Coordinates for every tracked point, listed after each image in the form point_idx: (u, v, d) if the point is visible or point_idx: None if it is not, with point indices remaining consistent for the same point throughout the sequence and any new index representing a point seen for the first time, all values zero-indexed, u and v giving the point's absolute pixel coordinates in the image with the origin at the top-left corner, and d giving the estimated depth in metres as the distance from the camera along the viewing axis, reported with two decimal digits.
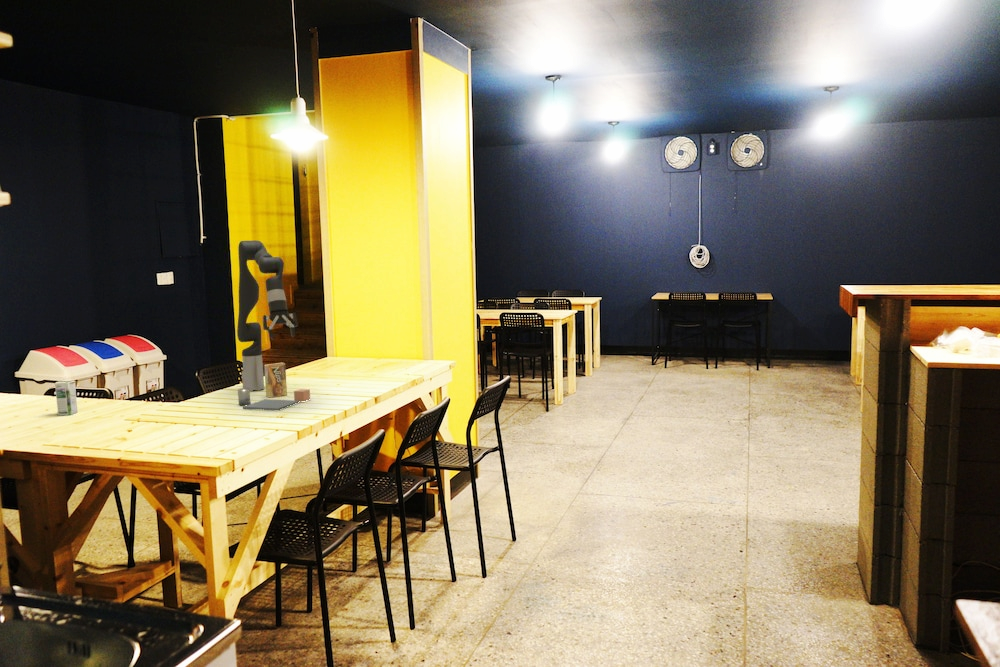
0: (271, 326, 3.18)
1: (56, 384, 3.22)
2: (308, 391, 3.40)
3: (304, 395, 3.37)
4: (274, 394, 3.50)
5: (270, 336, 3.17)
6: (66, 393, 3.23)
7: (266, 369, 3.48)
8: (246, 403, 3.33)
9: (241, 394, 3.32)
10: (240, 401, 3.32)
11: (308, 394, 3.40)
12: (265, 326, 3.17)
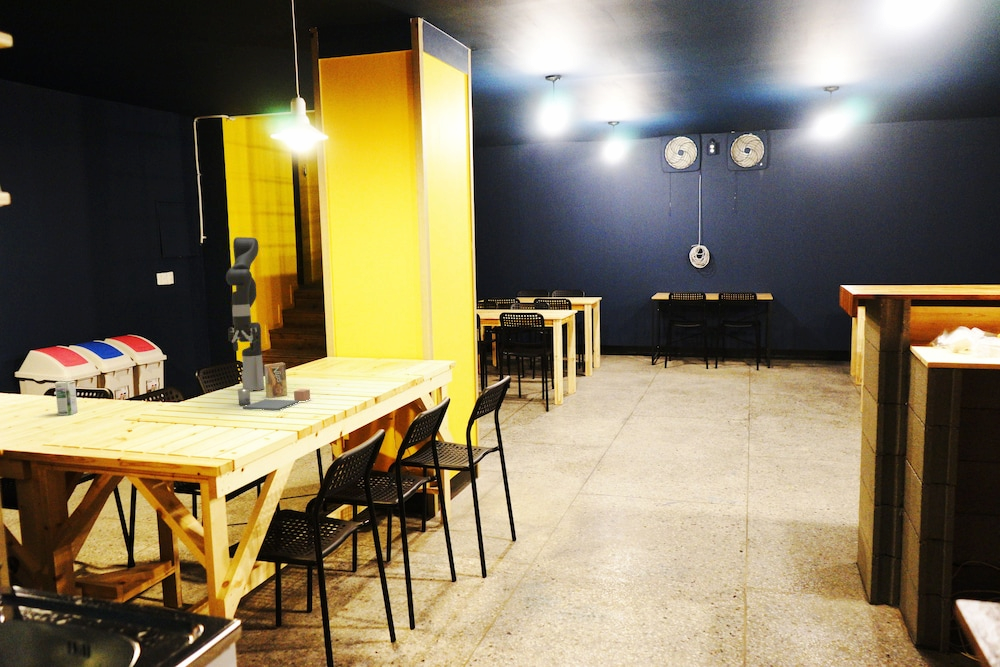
0: (233, 339, 3.32)
1: (56, 384, 3.22)
2: (308, 391, 3.40)
3: (304, 395, 3.37)
4: (274, 394, 3.50)
5: (233, 348, 3.33)
6: (66, 393, 3.23)
7: (266, 369, 3.48)
8: (246, 403, 3.33)
9: (241, 394, 3.32)
10: (240, 401, 3.32)
11: (308, 394, 3.40)
12: (229, 339, 3.33)
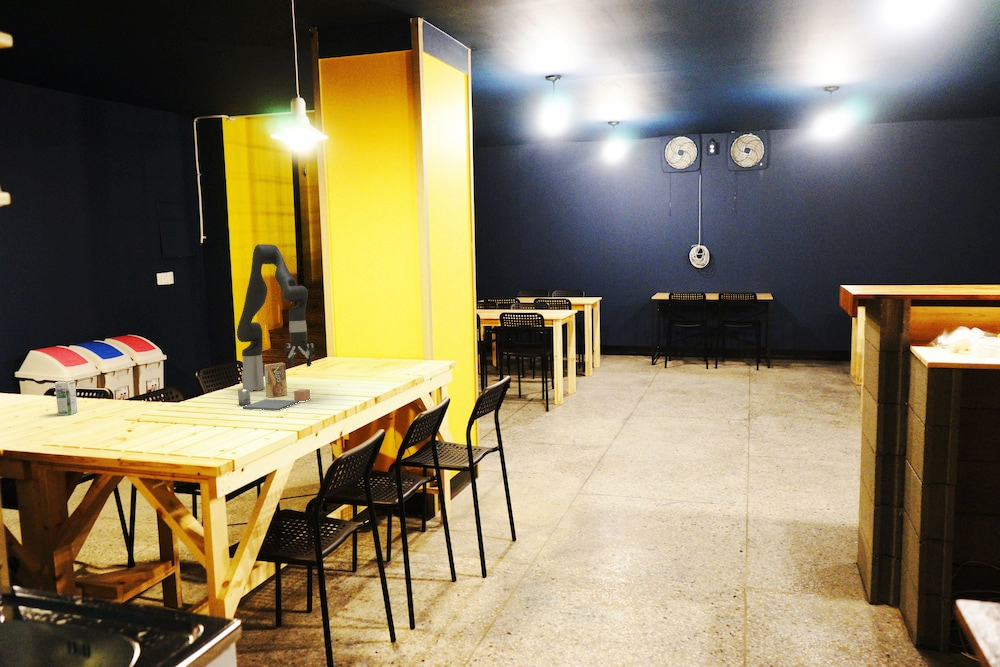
0: (290, 355, 3.37)
1: (56, 384, 3.22)
2: (308, 391, 3.40)
3: (304, 395, 3.37)
4: (274, 394, 3.50)
5: (289, 364, 3.38)
6: (66, 393, 3.23)
7: (266, 369, 3.48)
8: (246, 403, 3.33)
9: (241, 394, 3.32)
10: (240, 401, 3.32)
11: (308, 394, 3.40)
12: (285, 354, 3.38)
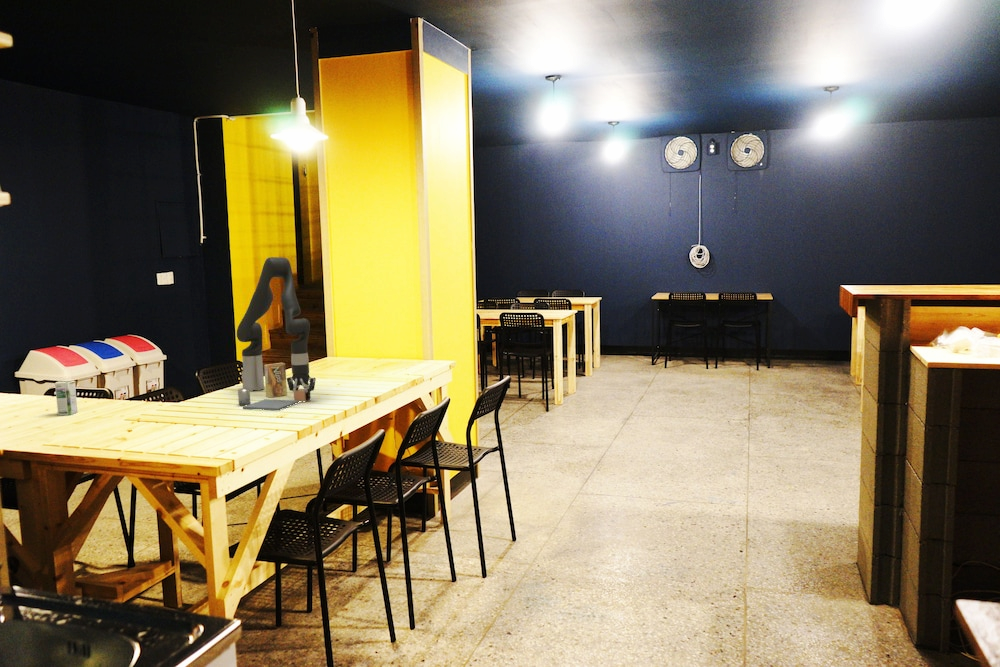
0: (294, 389, 3.39)
1: (56, 384, 3.22)
2: None
3: (304, 395, 3.37)
4: (274, 394, 3.50)
5: None
6: (66, 393, 3.23)
7: (266, 369, 3.48)
8: (246, 403, 3.33)
9: (241, 394, 3.32)
10: (240, 401, 3.32)
11: None
12: (290, 388, 3.39)
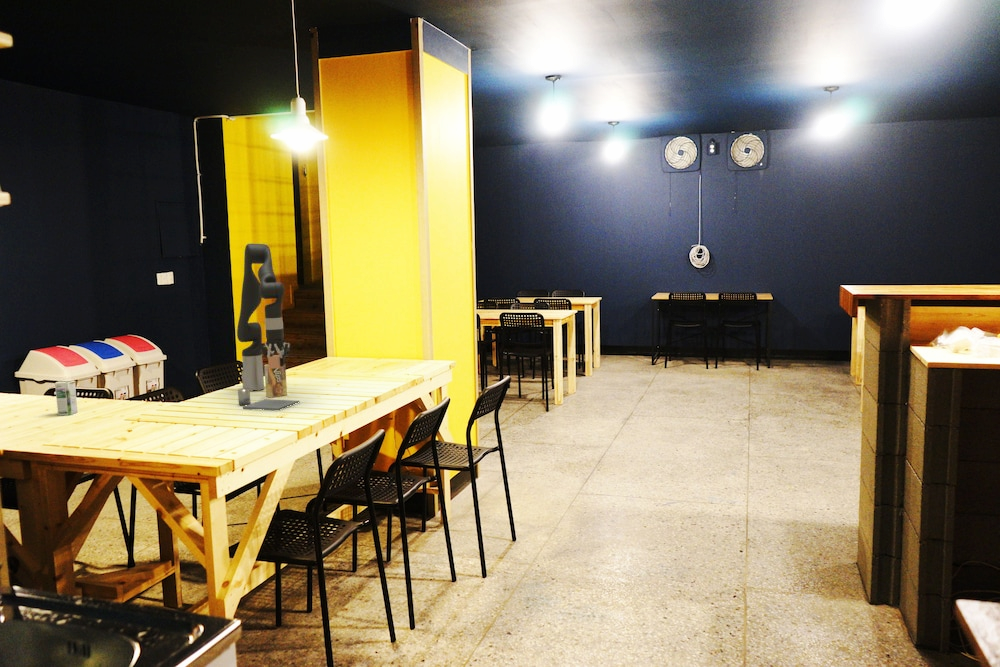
0: (268, 354, 3.30)
1: (56, 384, 3.22)
2: None
3: (278, 361, 3.28)
4: (274, 394, 3.50)
5: (268, 364, 3.31)
6: (66, 393, 3.23)
7: (266, 369, 3.48)
8: (246, 403, 3.33)
9: (241, 394, 3.32)
10: (240, 401, 3.32)
11: None
12: (264, 354, 3.30)
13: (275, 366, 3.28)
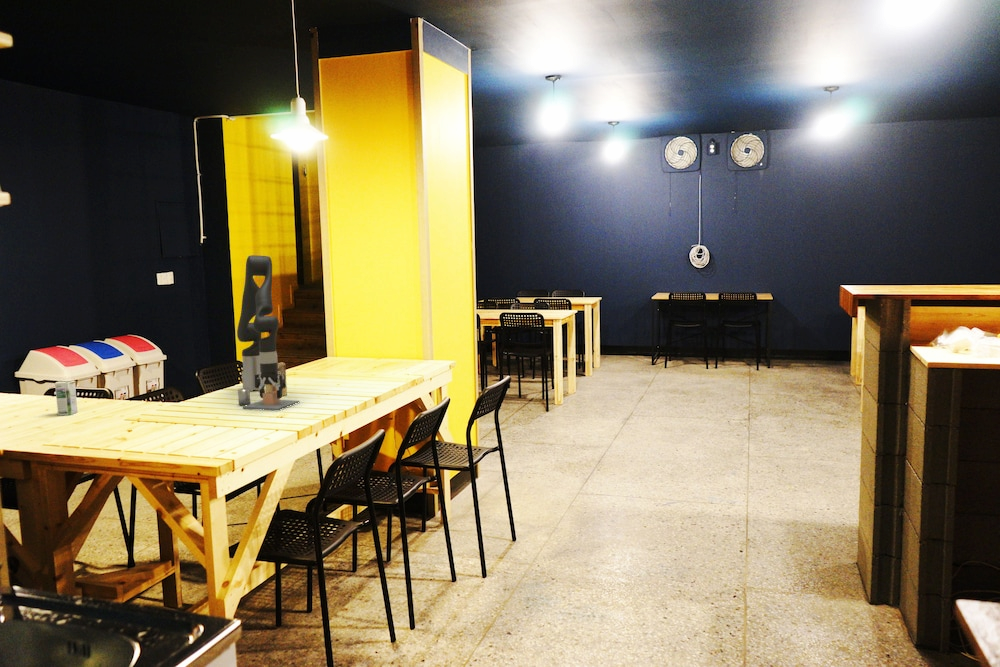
0: (260, 386, 3.30)
1: (56, 384, 3.22)
2: None
3: (273, 397, 3.28)
4: None
5: (260, 395, 3.31)
6: (66, 393, 3.23)
7: None
8: (246, 403, 3.33)
9: (241, 394, 3.32)
10: (240, 401, 3.32)
11: None
12: (255, 385, 3.30)
13: (269, 403, 3.28)
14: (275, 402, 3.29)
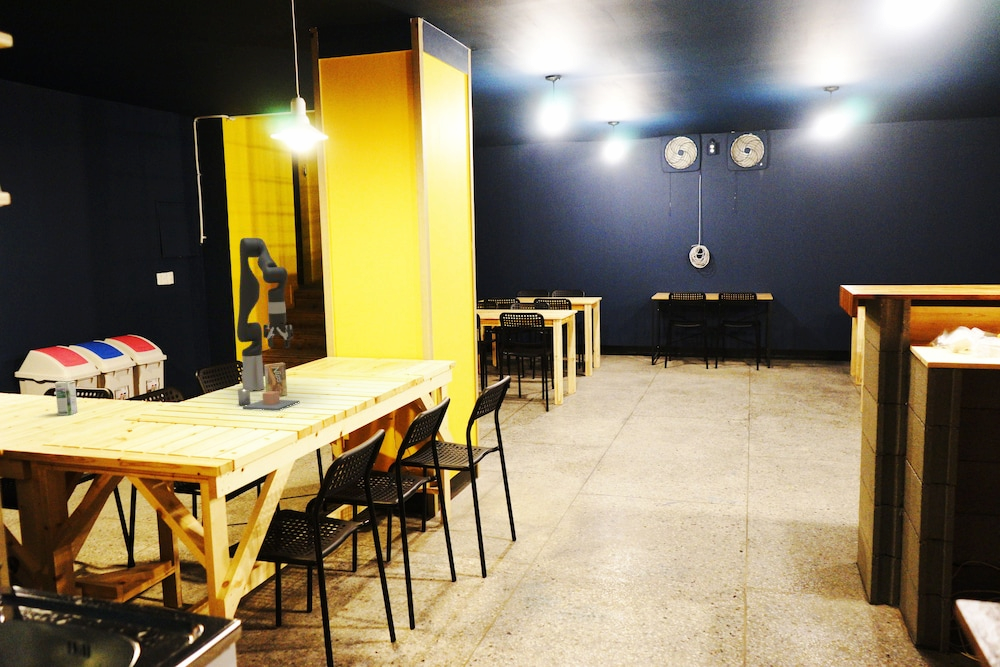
0: (268, 336, 3.37)
1: (56, 384, 3.22)
2: (277, 393, 3.31)
3: (273, 397, 3.28)
4: None
5: (268, 345, 3.39)
6: (66, 393, 3.23)
7: (266, 369, 3.48)
8: (246, 403, 3.33)
9: (241, 394, 3.32)
10: (240, 401, 3.32)
11: (277, 396, 3.31)
12: (264, 335, 3.38)
13: (269, 403, 3.28)
14: (275, 402, 3.29)
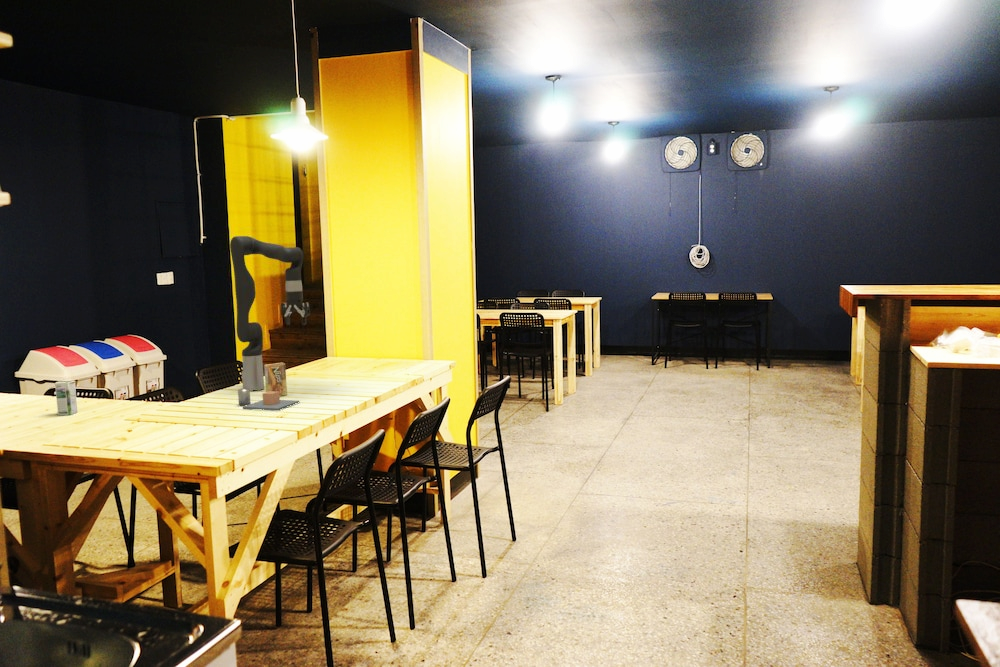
0: (286, 314, 3.51)
1: (56, 384, 3.22)
2: (277, 393, 3.31)
3: (273, 397, 3.28)
4: None
5: (285, 322, 3.53)
6: (66, 393, 3.23)
7: (266, 369, 3.48)
8: (246, 403, 3.33)
9: (241, 394, 3.32)
10: (240, 401, 3.32)
11: (277, 396, 3.31)
12: (281, 313, 3.52)
13: (269, 403, 3.28)
14: (275, 402, 3.29)
